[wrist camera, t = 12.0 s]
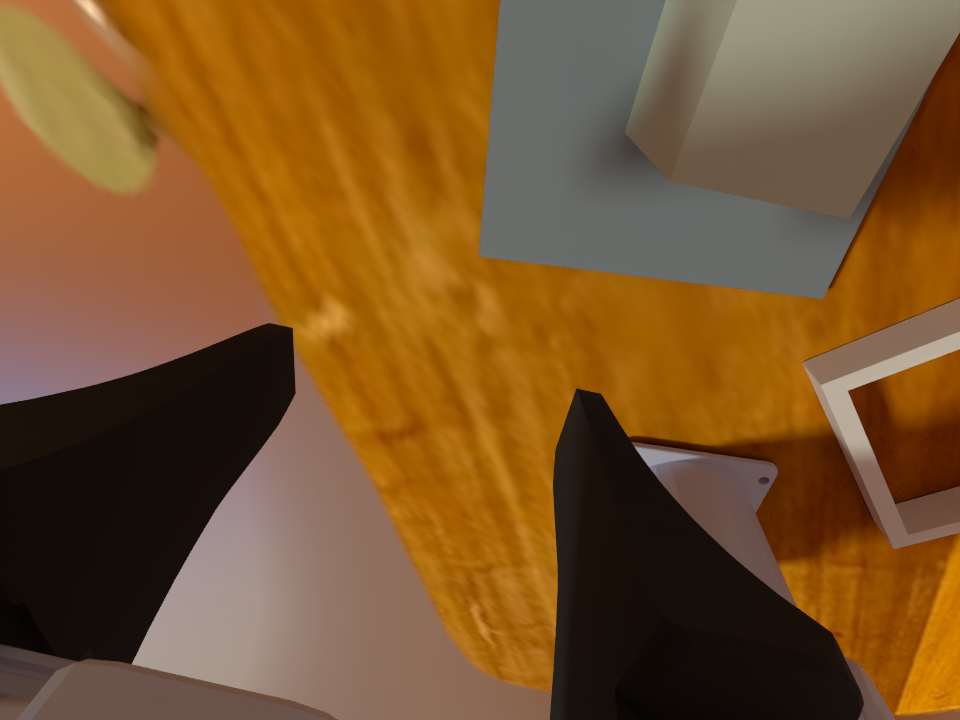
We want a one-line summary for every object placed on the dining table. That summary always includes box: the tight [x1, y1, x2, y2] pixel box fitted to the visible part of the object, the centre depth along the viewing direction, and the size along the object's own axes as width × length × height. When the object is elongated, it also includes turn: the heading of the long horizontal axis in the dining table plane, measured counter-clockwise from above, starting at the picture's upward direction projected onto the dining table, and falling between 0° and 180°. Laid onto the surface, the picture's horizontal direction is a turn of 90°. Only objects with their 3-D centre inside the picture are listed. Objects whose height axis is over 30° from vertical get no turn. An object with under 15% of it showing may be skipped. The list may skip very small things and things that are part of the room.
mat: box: [479, 0, 936, 299], centre depth 17 cm, size 14×14×1 cm
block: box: [625, 0, 960, 219], centre depth 13 cm, size 4×4×8 cm
